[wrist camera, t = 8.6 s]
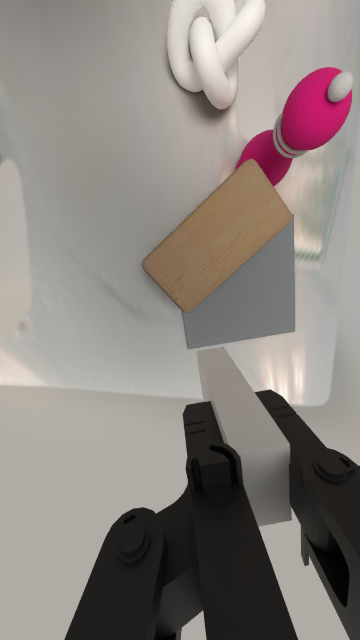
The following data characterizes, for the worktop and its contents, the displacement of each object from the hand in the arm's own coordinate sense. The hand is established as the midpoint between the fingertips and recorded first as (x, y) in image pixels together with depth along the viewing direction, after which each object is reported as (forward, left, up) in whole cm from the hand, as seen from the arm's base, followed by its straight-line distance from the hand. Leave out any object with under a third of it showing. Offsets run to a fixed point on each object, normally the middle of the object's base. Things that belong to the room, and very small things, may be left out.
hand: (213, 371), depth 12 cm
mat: (0, +11, -30) cm, 32 cm away
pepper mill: (-18, +15, -31) cm, 39 cm away
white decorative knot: (-33, +10, -31) cm, 46 cm away
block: (-2, -3, -25) cm, 25 cm away
